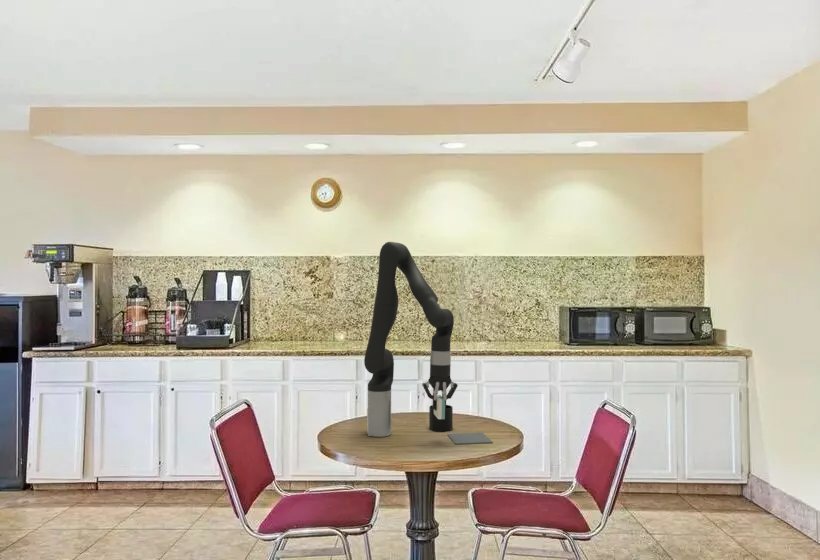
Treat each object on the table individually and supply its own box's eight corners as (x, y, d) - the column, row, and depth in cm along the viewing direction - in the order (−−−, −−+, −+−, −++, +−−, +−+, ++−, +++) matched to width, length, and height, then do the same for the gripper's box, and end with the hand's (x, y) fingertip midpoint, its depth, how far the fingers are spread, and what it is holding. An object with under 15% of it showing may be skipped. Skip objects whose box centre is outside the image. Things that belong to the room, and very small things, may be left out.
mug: (441, 424, 233) (441, 402, 233) (457, 430, 222) (457, 407, 222) (421, 426, 228) (421, 404, 228) (437, 433, 218) (437, 409, 218)
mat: (455, 444, 201) (455, 443, 201) (447, 435, 214) (447, 433, 214) (492, 443, 203) (492, 441, 203) (482, 433, 216) (482, 432, 216)
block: (438, 419, 199) (438, 399, 199) (433, 413, 207) (434, 395, 208) (444, 419, 199) (445, 399, 199) (439, 413, 208) (440, 394, 208)
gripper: (423, 364, 199) (422, 412, 199) (461, 364, 201) (460, 412, 201) (420, 361, 206) (419, 407, 206) (456, 361, 208) (455, 407, 208)
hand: (439, 409), depth 203 cm, fingers closed on block, 2 cm apart
